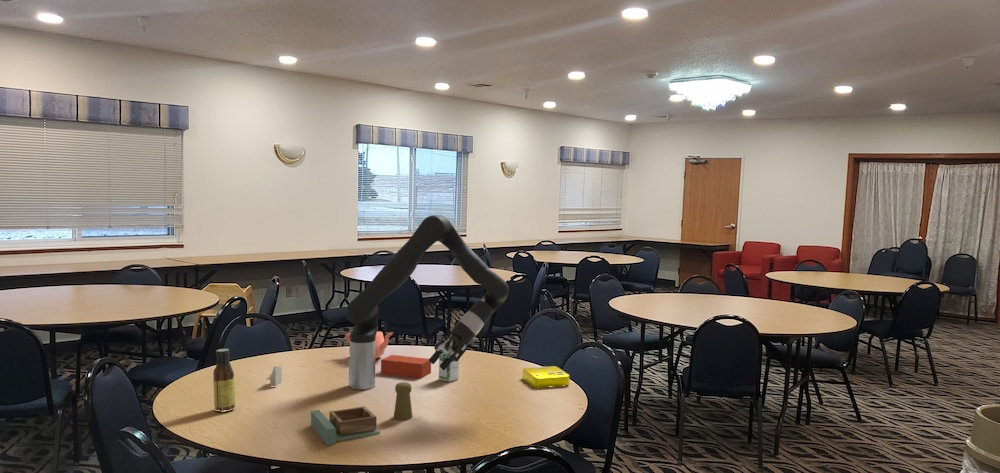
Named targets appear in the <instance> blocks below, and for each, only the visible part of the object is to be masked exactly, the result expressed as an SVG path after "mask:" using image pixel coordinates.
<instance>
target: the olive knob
mask: <svg viewBox="0 0 1000 473" xmlns="http://www.w3.org/2000/svg"><path fill="white" fill-rule="evenodd" d="M412 388H413V387H412V385H411V383H409V382H406V381H405V382H402V381H401V382H398V383H396V385H395V387H394V390H395V393H396V396H395V398H396V399H395V404H394V411H393V419H394V420H396V421H397V420H398V421H408V420H410V419H412V418H413V408H412V401H411V400H412V399H411V392H412V391H413V390H412Z"/></svg>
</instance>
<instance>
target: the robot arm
mask: <svg viewBox="0 0 1000 473" xmlns="http://www.w3.org/2000/svg"><path fill="white" fill-rule="evenodd" d="M437 242H439V243H441V244H442V245H444V247H445V248H447V249H448V250H449V251H450V252H451V253H452V255H453V256H454V258H455V259H456V261H457V262H458V264H459V266H460V267H461V269H462V270H463V272H465V273H466V275H467V276H468V277H469V278H470V279H471V280H472V281H473V282H474V283H476V284H477V285H480V286H481V287H482V288H484V290H486V292H485V294H484V295H483V296H482V297H481V298H480V299H479V300H477V301H476V302H475V303H473V305H472V306H471V308H469V310H468V311H467V312H466V313H465V314H463V316H461V318H460V319H459V320H458V321H457V323H456V324H455V325H454V326H453V327H452V329H451V330H450V333H451V335H450V337H449V336H448V335H445V334H444V336H443V337H442V338H441V339H440V341H439V342H437V343H436V344H435V346H434V348H433V349H434V353H433V354H432V355H431V356H430V358H428V359H429V361H430V362H431V365H434V364H436V362H437V361H439V357H440V356H441V355H442V354H444V353H448V352H449V353H448V356H447V357H448V358H447V357H446V358H445V360H444V361H443V362H442V363H441V364H440V368H441V369H442V370H445V369H446V368H447V367H448V366H449V365H450V363H451V362H454V361H456V362H457V361H458V360H459V361H460V359H461V358H462V357H463V355H464V354H465V352H466V351H467V350H468V346H469V345H470V343H471V342H472V341H473V340H474V339H475V337H476V336H477V335H478V334H479V332H480V331H481V330H482V328H483V327H484V326H485V324H486V323H487V322H488V320H490V318H491V317H492V315H493V314H494V313H495V312H496V311H497V310H498V309H499V308H500V307H501V306H502V305H503V304H504V303H505V301H506V300H507V299H508V295H509V293H510V287H509V285H508V283H507V282H506V281H505V279H504V278H502V276H500V275H499V274H498V273H496V272H494V271H493V270H492V269H491V268H490V267H489V266H488V265H487V264H486V263H485V262H484V261H483V260H482V259H481V257H479V256H478V254H476V253H475V252H474V250H472V248H470V246H469V245H468V244H467V243H466V241H465V240H464V239H463V238H462V236H461V235H460V234H459V232H458V231H457V229H456V228H455V227H454V225H453V224H452V222H451V221H450V220H449V219H448V218H447V217H446V216H444V215H438V214H437V215H435V214H433V215H432V214H431V215H429V216H427V217H425V218H424V219H423V220H422V222H420V224H419V225H418V226H417V228H416V229H415V231H414V232H413V234H412V235H411V237H409V239H408V240H407V242H406V243H404V244H403V245H402V247H400V249H399V250H397V252H396V253H395V254H394V255H393V256H392V257H391V258H390V259H389V260H388V261H387V263H386V264H384V266H383V267H382V268H381V269H380V270H379V272H378V273H377V274H376V275H375V277H374V278H373V279H372V280H371V282H370V283H369V284H368V285H367V286H366V287H365V288H364V289H363V290H362V291H361V292H360V293H359V294H358V295H356V296H355V297H354V298H353V299H352V300H351V301H350V302H348V305H347V306H346V307H347V308H346V310H345V311H346V313H345V314H346V317H347V320H348V321H349V322H350V323H352V324H354V327H353V329H352V331H351V332H350V333H351V334H350V344H349V349H350V353H349V359H348V386H349V387H350V388H351V389H354V390H369V389H373V388H375V387H376V358H375V338H376V333H377V331H378V328H379V327H378V326H379V306H378V305H379V304H380V303H381V302H382V301H383V300H384V299H385V298H387V297H388V296H389V295H391V294H392V293H393V292H395V291H396V290H397V289H398V288H400V287H401V286H402V285H403V284H405V282H406V281H407V280H408V279H409V278H410V276H412V274H413V272H414V271H415V270H416V269H417V266H418V264H419V262H420V260H421V258H422V257H423V255H424V254H425V253H426V252H427V250H429V249H430V248H431V247H432V246H433V245H434V244H435V243H437ZM439 346H440V347H439ZM442 350H443V351H442ZM441 351H442V352H441ZM458 354H459V355H458Z"/></svg>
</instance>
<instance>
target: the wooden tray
mask: <svg viewBox="0 0 1000 473" xmlns="http://www.w3.org/2000/svg"><path fill="white" fill-rule="evenodd" d="M377 418H378V417H377V416H376V415H375V414H374V413H373V412H372V411H370V410H369V409H368V408H367V407H366V406H359V407H357V406H356V407H351V408H345V409H337V410H331V411H329V421H330V422H331V424H332V425H333V426H334V427H335V428H336V432H337V433H338V434H339V435H340V436H341V435H346V434H352V433H358V432H364V431H370V430H376V429H377Z"/></svg>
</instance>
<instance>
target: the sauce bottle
mask: <svg viewBox="0 0 1000 473" xmlns="http://www.w3.org/2000/svg"><path fill="white" fill-rule="evenodd" d="M215 355H216V365H215V368H214V370H213V382H212V383H213V401H214V402H213V403H214V410H215V409H216V410H220V411H222V410H223V411H224V410H230V409H233V408H234V407H235V408H236V391H235V388H236V387H235V374H234V370H233V367H232V365H231V363H230V362H231V361H230V349H229V348H219V349H217V350H215Z"/></svg>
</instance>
